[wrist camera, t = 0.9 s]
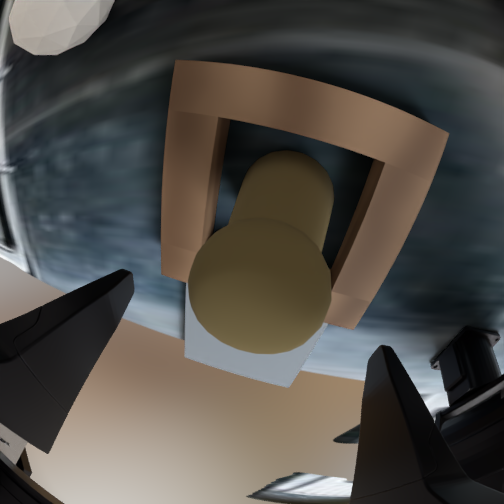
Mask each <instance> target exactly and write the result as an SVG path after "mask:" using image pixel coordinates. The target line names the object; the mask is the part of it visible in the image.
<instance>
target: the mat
mask: <svg viewBox="0 0 504 504" xmlns="http://www.w3.org/2000/svg"><path fill="white" fill-rule="evenodd" d="M327 325H328V324H327V323H323V324H322V327H321V328H320V329H319V330H318V331H317V332H316V333H315V334H314V335H313V336H312V337H311V338H310V339H309V340H308V341H307V342H305V343H304V344H303V345H301V346H299V347H297V348H295V349H293V350H291V351H288V352H283V353H278V354H254V353H250V352H245V351H241V350H237V349H235V348H233V347H231V346H229V345H226V344H224V343H222V342H221V341H219V340H218V339H216V338H215V337H214V336H212V335H211V334H209V333H208V332H207V331H206V330H205V328H204V327H203V326H202V325H201V324H200V323H199V322H198V320H197V318H196V316H195V314H194V312H193V310H192V307H191V304H190V300H189V292H188V283H186V304H185V357H186V358H189V359H192V360H194V361H197V362H200V363H203V364H206V365H210V366H213V367H215V368H218V369H222V370H225V371H228V372H232V373H235V374H238V375H242V376H245V377H249V378H252V379H256V380H260V381H263V382H267V383H271V384H275V385H279V386H284V387H289V386H290V385H291V383H292V382H293V380H294V379H295V377H296V376H297V374H298V373H299V371H300V370H301V368H302V366H303V365H304V363H305V362H306V360H307V359H308V357H309V355H310V354H311V352H312V350H313V349H314V347H315V345H316V344H317V342H318V340H319V339H320V337H321V335H322V334H323V332H324V330H325V329H326V327H327Z"/></svg>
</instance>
